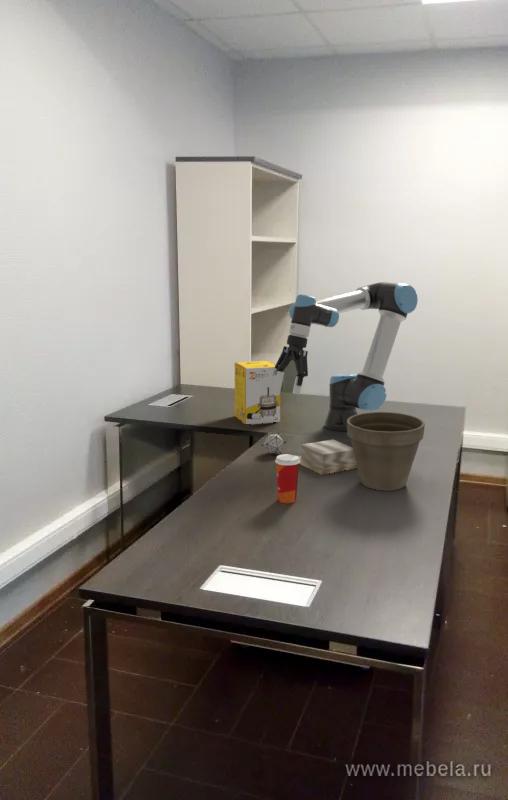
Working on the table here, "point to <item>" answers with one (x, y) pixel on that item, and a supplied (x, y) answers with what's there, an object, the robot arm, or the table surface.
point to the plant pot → (384, 447)
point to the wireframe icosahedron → (273, 443)
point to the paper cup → (287, 477)
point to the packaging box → (256, 392)
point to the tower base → (327, 457)
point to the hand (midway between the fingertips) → (286, 391)
